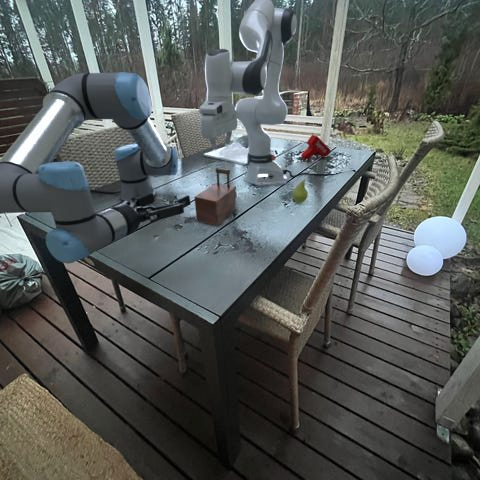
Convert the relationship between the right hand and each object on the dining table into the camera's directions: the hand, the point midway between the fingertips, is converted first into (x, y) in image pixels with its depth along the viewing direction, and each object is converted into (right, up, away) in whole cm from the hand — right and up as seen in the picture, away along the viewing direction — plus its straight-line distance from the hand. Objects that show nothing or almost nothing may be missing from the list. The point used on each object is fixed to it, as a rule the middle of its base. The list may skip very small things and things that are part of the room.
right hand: (221, 146), depth 102 cm
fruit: (+34, -18, +20) cm, 43 cm away
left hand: (-15, -23, -19) cm, 33 cm away
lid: (-3, -17, +5) cm, 18 cm away
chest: (-3, -25, +9) cm, 27 cm away
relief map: (+4, +22, +83) cm, 86 cm away
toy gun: (+56, +18, +75) cm, 95 cm away
